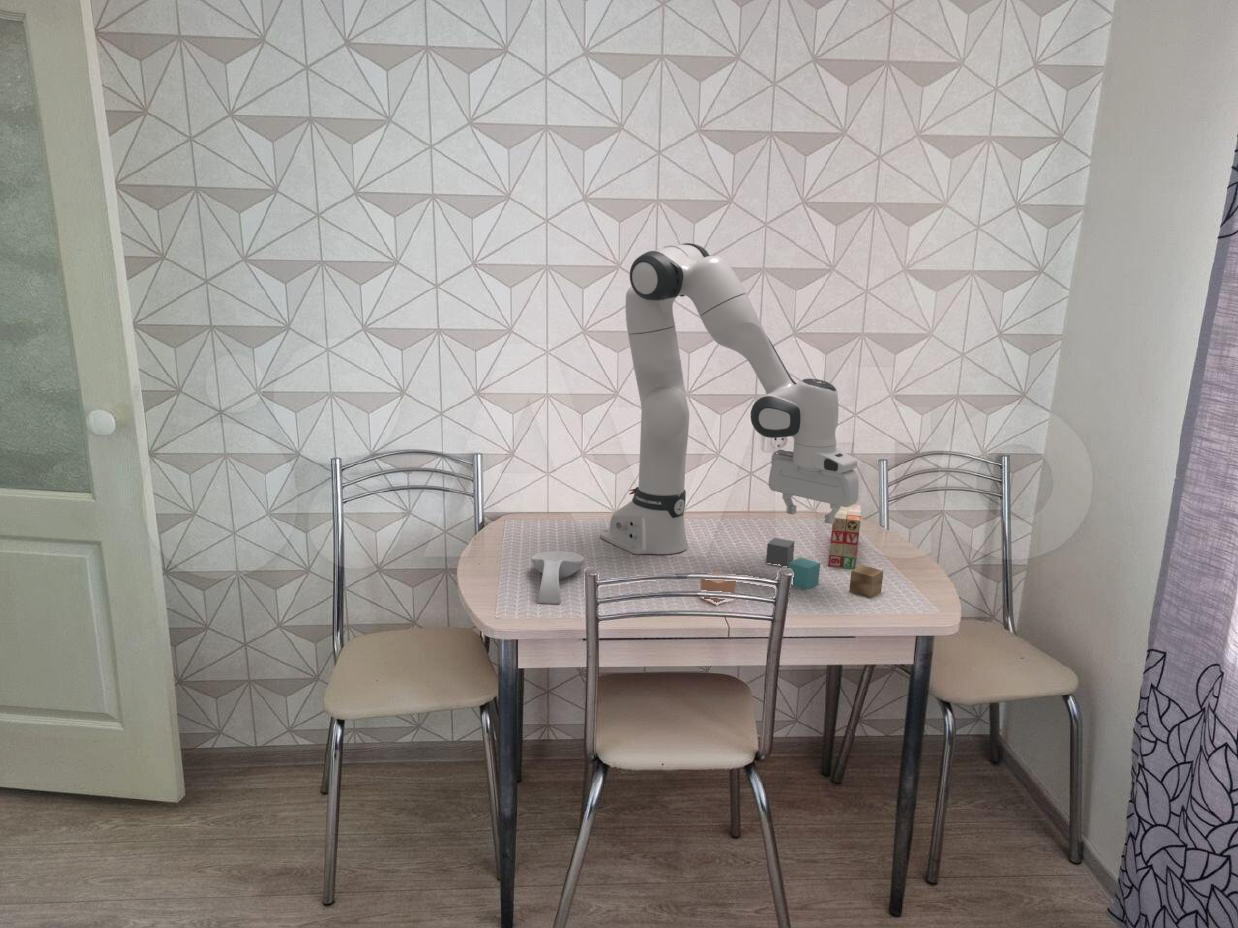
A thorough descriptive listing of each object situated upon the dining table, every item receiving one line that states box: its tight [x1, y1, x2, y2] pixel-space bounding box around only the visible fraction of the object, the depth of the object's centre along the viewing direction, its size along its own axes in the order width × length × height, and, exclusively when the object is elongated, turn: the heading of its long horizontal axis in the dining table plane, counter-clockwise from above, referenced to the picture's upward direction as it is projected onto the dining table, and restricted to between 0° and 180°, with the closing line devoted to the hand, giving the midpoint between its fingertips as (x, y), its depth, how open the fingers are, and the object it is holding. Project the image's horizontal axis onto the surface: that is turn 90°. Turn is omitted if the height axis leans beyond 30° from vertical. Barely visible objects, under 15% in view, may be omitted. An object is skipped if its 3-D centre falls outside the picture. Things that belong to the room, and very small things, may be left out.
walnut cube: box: [848, 564, 884, 599], centre depth 194 cm, size 5×5×5 cm
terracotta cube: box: [700, 571, 736, 603], centre depth 188 cm, size 5×5×5 cm
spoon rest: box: [530, 550, 585, 605], centre depth 194 cm, size 24×12×7 cm, turn 179°
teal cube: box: [787, 557, 821, 591], centre depth 198 cm, size 5×5×5 cm
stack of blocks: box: [827, 504, 862, 570], centre depth 218 cm, size 21×6×12 cm, turn 165°
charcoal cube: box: [765, 537, 795, 568], centre depth 211 cm, size 5×5×5 cm
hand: (810, 517), depth 194 cm, fingers open, 8 cm apart
